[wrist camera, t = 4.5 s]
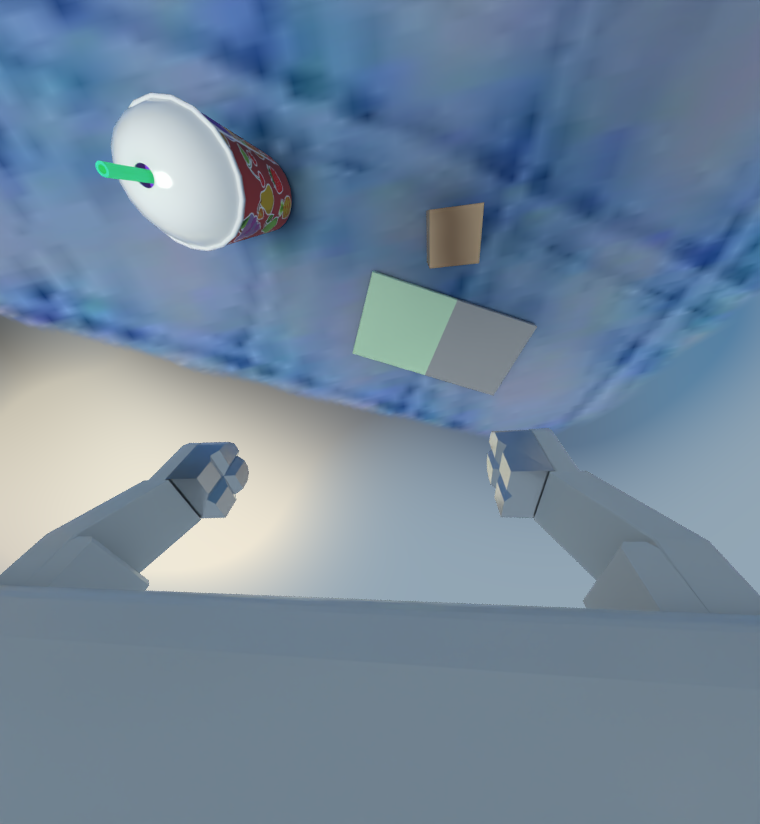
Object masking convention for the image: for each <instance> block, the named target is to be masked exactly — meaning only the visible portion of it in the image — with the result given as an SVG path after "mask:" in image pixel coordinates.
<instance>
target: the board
mask: <svg viewBox="0 0 760 824" xmlns="http://www.w3.org/2000/svg"><path fill="white" fill-rule="evenodd" d="M536 328H537V326H536V325H535V324H533V323H530V322H527V321H524V320H521V319H518V318H515V317H512V316H509V315H506V314H503V313H500V312H497V311H493V310H490V309H487V308H484V307H481V306H478V305H475V304H472V303H469V302H466V301H463V300H460V299H457V298H454V297H451V296H448V295H445V294H442V293H439V292H436V291H433V290H430V289H427V288H424V287H421V286H418V285H415V284H412V283H409V282H406V281H403V280H400V279H397V278H394V277H391V276H388V275H385V274H382V273H379V272H376V271H373V272H372V276H371V280H370V284H369V288H368V292H367V296H366V300H365V304H364V308H363V313H362V317H361V321H360V325H359V329H358V333H357V337H356V341H355V345H354V350H353V354H356V355H360V356H363V357H366V358H370V359H373V360H376V361H380V362H383V363H386V364H390V365H393V366H396V367H400V368H403V369H406V370H410V371H413V372H416V373H420V374H423V375H426V376H430V377H433V378H436V379H440V380H443V381H446V382H450V383H453V384H456V385H460V386H463V387H466V388H470V389H473V390H476V391H480V392H483V393H486V394H490V395H494V394H495V392H496V390H497V389H498V387H499V386H500V384H501V383H502V381H503V379H504V378H505V376H506V375H507V373H508V372H509V370H510V368H511V367H512V365H513V364H514V362H515V361H516V359H517V358H518V356H519V354H520V353H521V351H522V350H523V348H524V347H525V345H526V343H527V342H528V340H529V339H530V337H531V336H532V334H533V332H534V331H535V329H536Z"/></svg>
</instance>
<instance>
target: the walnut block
mask: <svg viewBox="0 0 760 824" xmlns="http://www.w3.org/2000/svg"><path fill="white" fill-rule="evenodd" d="M483 210H484V203H477V204H469V205H462V206H455V207H447V208H440V209H433V210H428V211H426V222H427V263H428V266H429V268H439V267H448V266H457V265H467V264H476V263H479V257H480V245H481V234H482V222H483Z"/></svg>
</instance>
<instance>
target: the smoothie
mask: <svg viewBox="0 0 760 824" xmlns="http://www.w3.org/2000/svg"><path fill="white" fill-rule="evenodd" d="M111 152H112V160H113V163H108V162H103V161H97V162H96V169H97V171H98V173H99V174H100V175H101V176H103V177H107V178H114V179H119V182H120V184H121V186H122V187H123V189H124V191H125V192H126V194H127V196H128V198H129V199H130V201H131V202H132V203H133V204H134V205H135V207H136V208H137V209H138V210H139V211H140V212H141V213H142V215H143V216H144V217H145V218H146V219H147V220H148V221H150V222H151V223H152V224H154V225H155V226H156V227H157V228H159V229H160V230H161V231H163V232H164V233H165V234H167V235H168V236H169V237H170V238H172V239H173V240H174V241H176V242H178V243H180V244H182V245H185V246H187V247H189V248H191V249H195V250H204V251H212V250H215V249H218V248H222V247H224V246H226V245H228V244H232V243H235V242H238V241H241V240H245V239H248V238H251V237H254V236H258V235H261V234H264V233H268V232H271V231H274V230H277V229H279V228H280V227H281V226H283V225H284V224H285V223H286V221H287V219H288V217H289V215H290V211H291V204H292V199H291V189H290V186H289V183H288V181H287V178H286V176H285V174H284V172H283V171H282V169H281V168H280V166H279V165H278V164H277V163H276V162H275V161H274V160H273V159H272V158H271V157H270V156H269V155H267V154H265V153H264V152H262V151H261V150H259V149H258V148H256V147H254V146H253V145H251V144H250V143H248V142H247V141H245V140H244V139H242V138H240V137H239V136H237V135H236V134H234V133H233V132H231V131H229V130H228V129H226V128H225V127H223V126H222V125H220V124H218V123H217V122H215V121H214V120H212V119H211V118H209V117H208V116H206V115H204V114H203V113H201V112H200V111H199V110H198V109H197V108H195V107H194V106H192V105H190V104H189V103H187V102H185V101H183V100H181V99H179V98H177V97H175V96H173V95H170V94H161V93H152V92H151V93H148V94H146V95H144V96H142V97H139V98H137V99H135V100H133V102H132V103H131V105H130V106H129V107H128V109H126V110H125V111H124V112H123V113H122V115H121V116H120V118H119V119H118V121H117V122H116V124H115V126H114V128H113V134H112V140H111Z"/></svg>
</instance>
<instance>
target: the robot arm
mask: <svg viewBox="0 0 760 824" xmlns="http://www.w3.org/2000/svg"><path fill="white" fill-rule="evenodd" d="M489 443H490V446H491V450H490V451H489V452H488V454H487V472H488V477H489V481H490V484H491V485H492V486H494V487H495V488H496V491H495V500H496V503H497V506H498V509H499V512H500V515H501V517H517V518H534V520H535V521H536V522H537V523H538V524H539V525H540V526H541V527H542V528H543V529H544V530H545V531H546V532H547V533H548V534H549V535H550V536H551V537H552V538H553V539H555V541H556V542H557V543H559V544H560V545H561V546H562V547H563V548H564V549H565V550H566V551H567V552H568V553H569V554H570V555H571V556H572V557H573V558H574V559H575V560H576V561H577V562H578V563H579V564H580V565H581V566H582V567H583V568H584V569H585V570H586V571H587V572H588V573H589V574H590V575H591V576H593V577H594V578H595V579H596V580H597V581H596V582H595V584H594V585H593V587H592V588H591V589H590V591H589V592H588V594H587V595H586V597H585V598H584V600H583V602H584V604H585V606H586V608H566V607H541V606H540V607H539V606H516V605H491V604H489V605H488V604H466V603H441V602H439V603H438V602H416V601H392V600H367V599H341V598H340V599H339V598H317V597H292V596H267V595H242V594H241V595H240V594H216V593H192V592H167V591H145V590H146V588H147V587H148V586H149V580H147V579H146V578H145V577H143V576H142V575H141V574H140V572H141V571H142V570H143V569H145V568H146V567H147V566H148V565H149V564H150V563H151V562H153V561H154V560H155V559H156V558H157V557H158V556H160V555H161V554H162V553H163V552H164V551H165V550H167V549H168V548H169V547H170V546H171V545H172V544H173V543H175V542H176V541H177V540H178V539H179V538H180V537H182V536H183V535H184V534H185V533H186V532H187V531H188V530H190V529H191V528H192V527H193V526H194V525H195V524H197V523H198V522H199V521H200V520H201V519H200V518H222V517H223V518H224V517H226V516H227V514H228V513H229V511H230V509H231V508H232V506H233V504H234V503H235V501H236V495H235V494H236V493H238V492H239V491H240V490H242V489H243V488H244V486H245V484H246V482H247V480H248V474H249V471H248V466H247V464H246V462H245V461H244V460H243V459H241V458H240V457H238V453H239V450H238V449H237V447H236V446H235V444H234V443H230V442H218V443H217V442H214V443H189V444H186V445H183V446H182V447H181V448H180V449H179V450H178V451H177V452H176V453H175V454H174V455H173V456H172V457H171V458H170V459H169V460H168V461H167V462H166V463H165V464H164V465H163V466H162V467H161V469H159V470H158V471H157V472H156V473H155V474H154V475H153V476H152V477H151V478H150V479H149V480H147V481H142V482H141V483H139V484H137V485H135V486H133V487H132V488H130V489H128V490H126V491H124V492H122V493H121V494H119V495H117V496H115V497H114V498H112V499H110V500H108V501H106V502H104V503H103V504H101V505H99V506H97V507H95V508H93V509H92V510H90V511H88V512H86V513H85V514H83V515H81V516H79V517H77V518H75V519H74V520H72V521H70V522H68V523H66V524H64V525H62V526H61V527H59V528H57V529H55V530H53V531H52V532H50V533H48V534H46V535H45V536H44V537H43V538H42V539H40V540H39V541H38V542H37V543H36V544H35V545H34V546H33V547H32V548H30V549H29V550H28V551H27V552H26V553H25V554H24V555H22V556H21V557H20V558H19V559H18V560H17V561H15V562H14V563H13V564H12V565H11V566H10V567H9V568H8V569H7V570H5V571H4V572H3V573H2V574H1V575H0V824H760V595H759V594H758V593H757V592H756V591H755V590H754V589H753V588H752V587H751V586H750V585H749V583H748V582H747V581H746V580H745V579H744V578H743V577H742V576H741V575H740V574H739V573H738V572H737V571H736V570H735V568H734V567H733V566H732V565H731V564H730V563H729V562H728V561H727V560H726V559H725V558H724V557H723V556H722V554H720V552H719V551H718V550H717V549H716V548H715V547H714V546H713V545H712V544H711V543H710V542H709V541H708V540H706V539H704V538H703V537H701V536H699V535H698V534H696V533H694V532H692V531H691V530H688V529H687V528H685V527H683V526H682V525H680V524H678V523H677V522H675V521H673V520H671V519H670V518H668V517H666V516H664V515H663V514H661V513H659V512H657V511H656V510H654V509H652V508H650V507H649V506H647V505H645V504H643V503H642V502H640V501H638V500H636V499H635V498H633V497H631V496H629V495H627V494H626V493H624V492H622V491H621V490H619V489H617V488H615V487H614V486H612V485H610V484H608V483H606V482H605V481H603V480H601V479H599V478H598V477H596V476H594V475H593V474H591V473H589V472H587V471H580V470H579V469H578V468H577V466H576V465H575V463H574V462H573V461H572V459H571V458H570V456H569V455H568V453H567V452H566V450H565V449H564V447H563V446H562V445H561V443H560V442H559V441H558V439H557V437H556V436H555V434H554V433H553V432H552V430H550V429H549V428H541V429H529V430H511V431H492V432H491V435H490V440H489Z"/></svg>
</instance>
